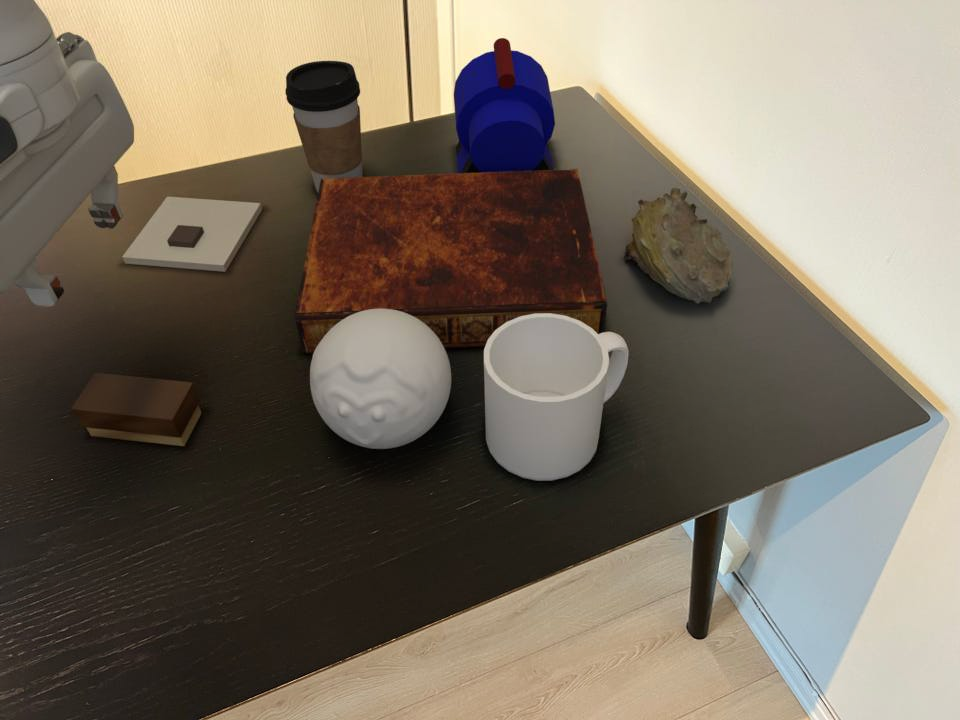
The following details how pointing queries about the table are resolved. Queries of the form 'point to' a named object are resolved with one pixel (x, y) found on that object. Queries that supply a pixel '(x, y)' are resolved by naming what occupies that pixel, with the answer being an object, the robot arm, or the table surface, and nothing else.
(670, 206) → the seashell
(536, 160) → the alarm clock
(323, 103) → the coffee cup
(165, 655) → the table surface
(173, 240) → the dark brown square block
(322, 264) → the book
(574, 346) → the mug
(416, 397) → the decorative ball
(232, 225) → the tile
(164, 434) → the brown rectangular block
